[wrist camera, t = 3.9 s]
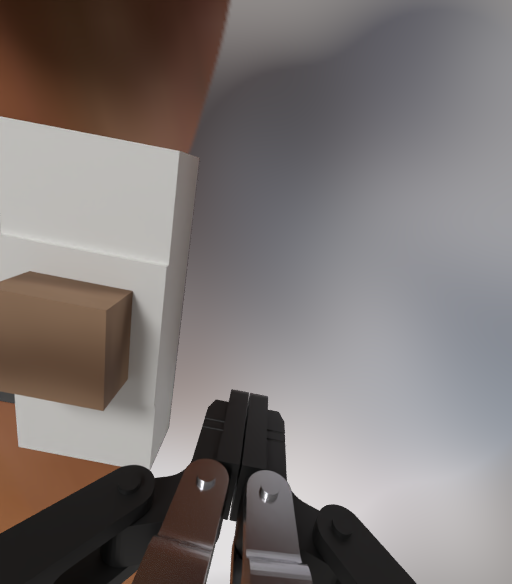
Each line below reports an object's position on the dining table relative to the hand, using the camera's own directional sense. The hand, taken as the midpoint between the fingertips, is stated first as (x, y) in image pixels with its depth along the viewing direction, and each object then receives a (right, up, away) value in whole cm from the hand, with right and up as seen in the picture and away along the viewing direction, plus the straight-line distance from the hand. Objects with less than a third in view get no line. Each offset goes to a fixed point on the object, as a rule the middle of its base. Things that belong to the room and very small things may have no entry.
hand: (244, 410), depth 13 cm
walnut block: (-8, +3, +3) cm, 9 cm away
